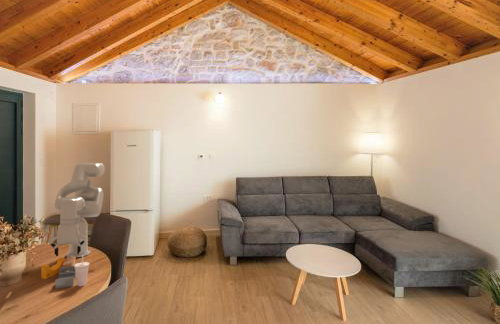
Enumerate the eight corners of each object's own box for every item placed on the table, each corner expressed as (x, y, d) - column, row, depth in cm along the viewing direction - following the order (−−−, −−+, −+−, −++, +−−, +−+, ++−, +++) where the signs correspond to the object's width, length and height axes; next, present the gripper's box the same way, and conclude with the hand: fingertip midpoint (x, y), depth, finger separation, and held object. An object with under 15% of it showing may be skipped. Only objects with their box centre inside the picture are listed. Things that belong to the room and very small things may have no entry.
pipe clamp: (57, 269, 161) (57, 257, 161) (64, 270, 161) (64, 258, 161) (38, 278, 150) (38, 265, 149) (45, 279, 149) (46, 266, 149)
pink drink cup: (78, 288, 139) (78, 258, 138) (71, 285, 142) (71, 255, 142) (92, 283, 144) (92, 254, 144) (84, 280, 148) (84, 252, 147)
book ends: (59, 275, 153) (60, 267, 153) (75, 273, 156) (75, 265, 156) (55, 288, 138) (55, 280, 138) (73, 286, 141) (73, 277, 141)
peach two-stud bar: (67, 266, 166) (67, 256, 166) (75, 265, 168) (75, 255, 168) (62, 274, 155) (62, 263, 155) (71, 273, 157) (71, 262, 157)
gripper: (87, 219, 168) (86, 251, 167) (50, 222, 160) (49, 254, 160) (86, 222, 161) (86, 254, 161) (47, 224, 153) (47, 258, 153)
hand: (67, 254), depth 160 cm, fingers open, 9 cm apart
